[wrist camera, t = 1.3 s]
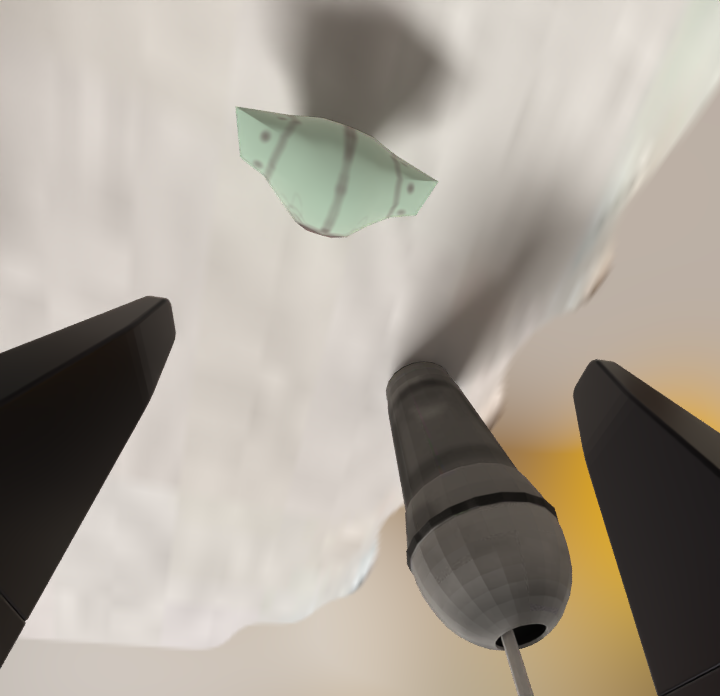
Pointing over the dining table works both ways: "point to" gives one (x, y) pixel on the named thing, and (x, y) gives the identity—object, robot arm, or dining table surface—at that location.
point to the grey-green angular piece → (329, 172)
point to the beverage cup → (474, 522)
